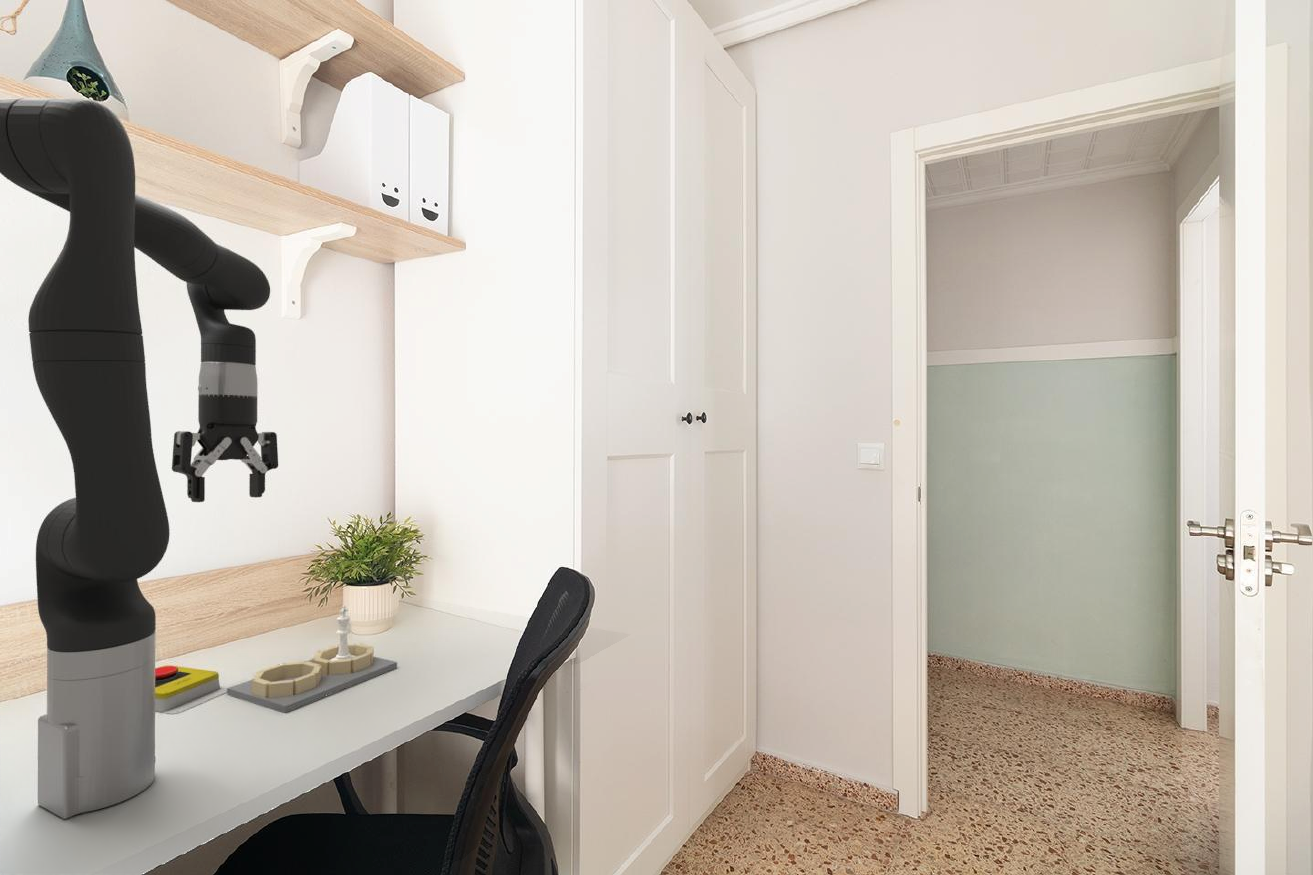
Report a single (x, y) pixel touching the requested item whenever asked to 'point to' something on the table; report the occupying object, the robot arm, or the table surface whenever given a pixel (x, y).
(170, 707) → the emergency button
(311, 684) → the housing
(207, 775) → the table surface
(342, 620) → the chess piece
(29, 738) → the table surface
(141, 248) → the robot arm
